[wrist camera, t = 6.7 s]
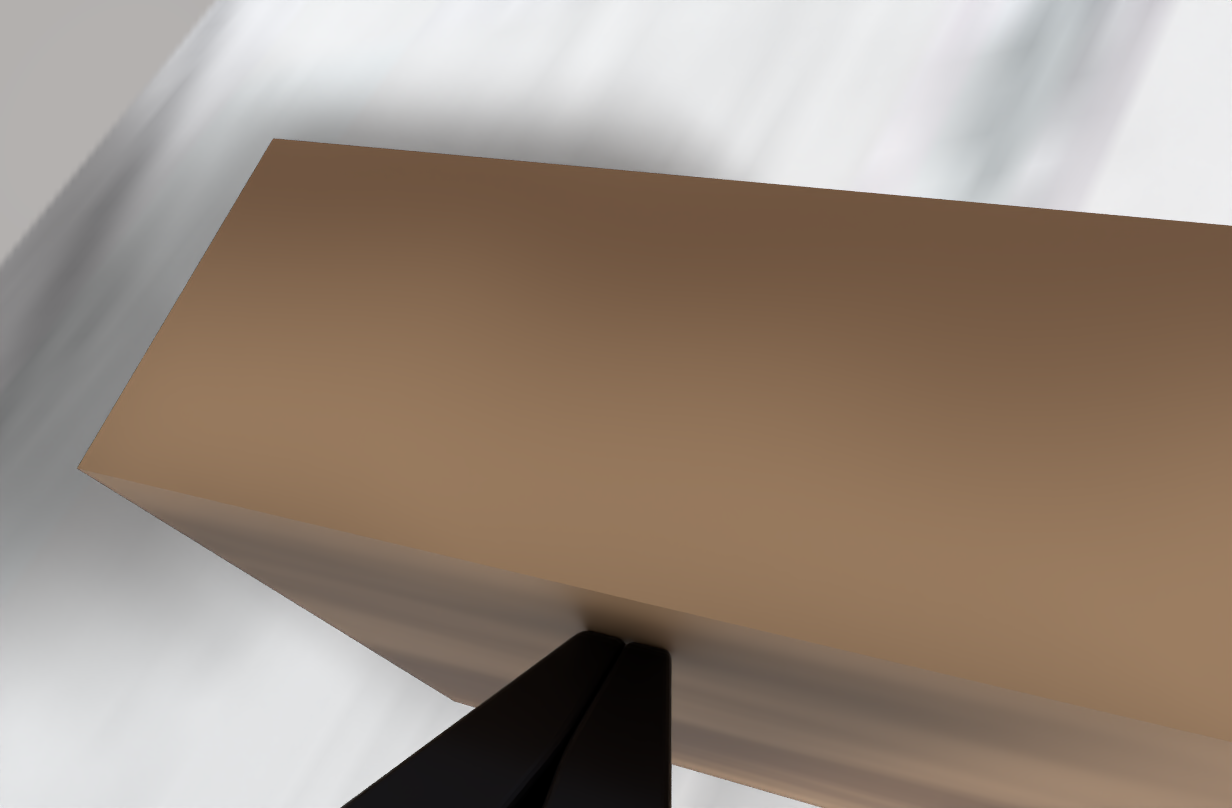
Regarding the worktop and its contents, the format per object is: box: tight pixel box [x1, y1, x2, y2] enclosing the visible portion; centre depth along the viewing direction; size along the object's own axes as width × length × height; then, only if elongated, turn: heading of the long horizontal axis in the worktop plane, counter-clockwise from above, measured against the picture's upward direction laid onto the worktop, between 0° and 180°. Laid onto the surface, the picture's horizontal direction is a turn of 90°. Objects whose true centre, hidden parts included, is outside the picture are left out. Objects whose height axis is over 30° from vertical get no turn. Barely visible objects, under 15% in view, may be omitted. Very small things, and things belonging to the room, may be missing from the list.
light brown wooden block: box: [77, 139, 1232, 808], centre depth 12 cm, size 4×10×10 cm, turn 76°
